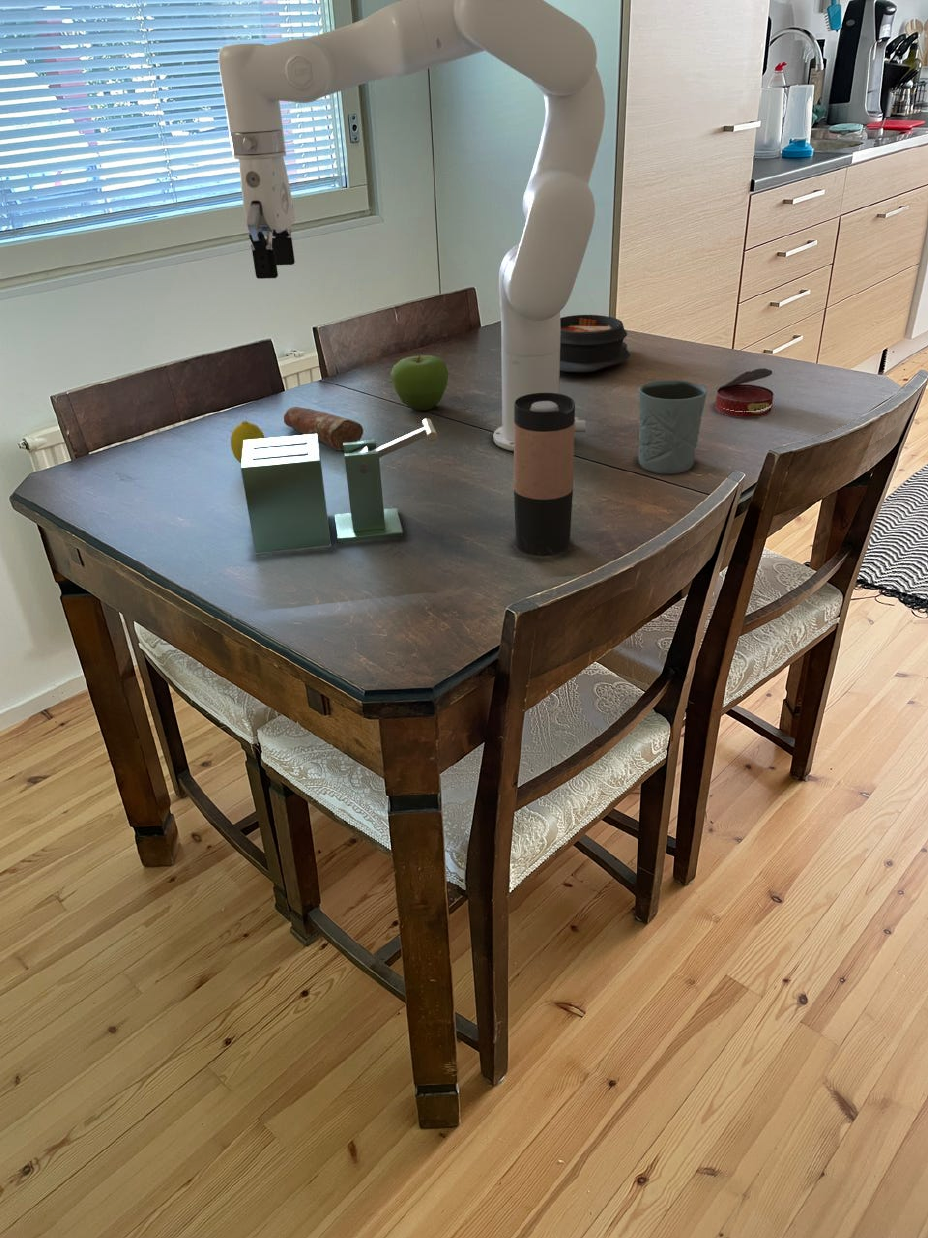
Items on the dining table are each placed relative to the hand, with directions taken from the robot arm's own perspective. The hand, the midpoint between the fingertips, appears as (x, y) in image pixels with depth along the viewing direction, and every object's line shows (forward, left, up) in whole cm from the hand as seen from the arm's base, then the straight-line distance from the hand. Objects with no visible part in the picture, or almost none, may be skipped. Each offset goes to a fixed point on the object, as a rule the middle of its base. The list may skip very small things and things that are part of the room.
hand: (276, 270), depth 141 cm
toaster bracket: (-17, +29, -29) cm, 45 cm away
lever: (-22, +28, -18) cm, 40 cm away
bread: (-1, -7, -30) cm, 30 cm away
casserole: (-48, -52, -30) cm, 77 cm away
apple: (-17, -24, -30) cm, 42 cm away
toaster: (-7, +32, -29) cm, 44 cm away
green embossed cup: (-60, +3, -30) cm, 67 cm away
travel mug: (-41, +33, -30) cm, 61 cm away
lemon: (+7, +6, -30) cm, 31 cm away
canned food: (-76, -23, -30) cm, 85 cm away
